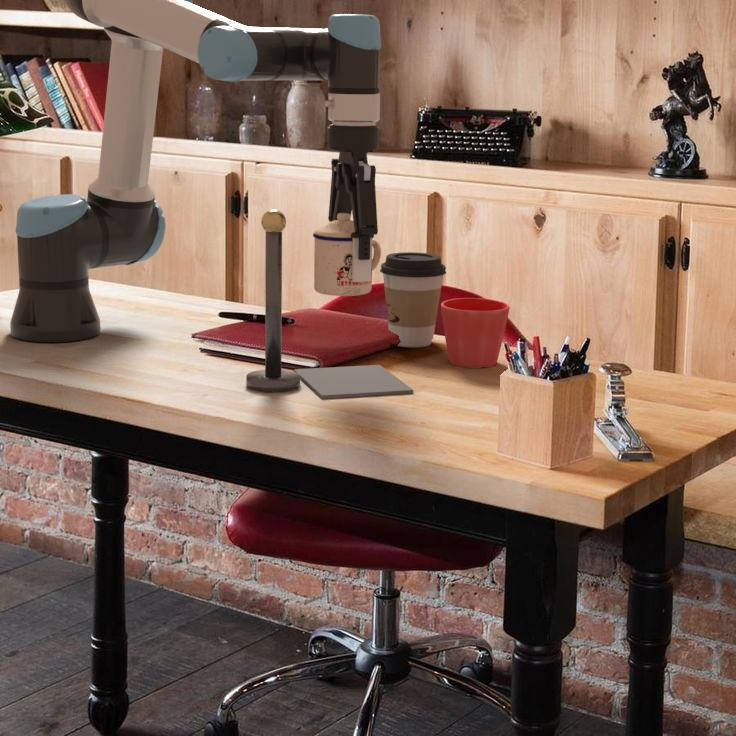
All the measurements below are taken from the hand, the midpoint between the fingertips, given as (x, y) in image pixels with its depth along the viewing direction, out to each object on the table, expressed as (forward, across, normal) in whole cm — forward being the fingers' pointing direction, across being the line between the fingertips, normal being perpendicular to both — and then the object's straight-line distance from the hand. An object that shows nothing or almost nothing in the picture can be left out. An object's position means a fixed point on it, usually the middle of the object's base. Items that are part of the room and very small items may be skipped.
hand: (351, 275), depth 200 cm
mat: (+16, +2, 0) cm, 16 cm away
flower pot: (+16, -6, +23) cm, 29 cm away
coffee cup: (+16, -22, +18) cm, 33 cm away
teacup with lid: (+2, -1, 0) cm, 3 cm away
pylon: (+16, +1, -12) cm, 20 cm away
